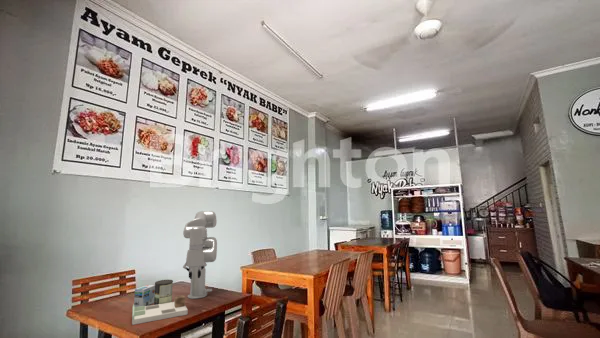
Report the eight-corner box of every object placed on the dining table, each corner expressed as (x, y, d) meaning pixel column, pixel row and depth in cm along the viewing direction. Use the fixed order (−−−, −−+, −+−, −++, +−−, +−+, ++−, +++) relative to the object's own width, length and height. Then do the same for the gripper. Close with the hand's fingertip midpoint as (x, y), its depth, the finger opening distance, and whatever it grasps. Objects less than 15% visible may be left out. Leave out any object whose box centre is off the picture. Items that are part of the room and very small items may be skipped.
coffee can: (150, 307, 171) (151, 283, 173) (159, 302, 181) (160, 279, 183) (166, 307, 171) (168, 283, 173) (174, 302, 181) (175, 279, 183)
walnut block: (183, 303, 170) (183, 295, 171) (184, 306, 166) (185, 297, 166) (174, 305, 167) (174, 296, 168) (175, 307, 163) (175, 298, 164)
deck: (182, 304, 176) (182, 297, 177) (187, 314, 159) (187, 306, 160) (132, 313, 163) (132, 304, 163) (132, 324, 146) (132, 315, 146)
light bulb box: (142, 308, 171) (143, 289, 173) (133, 307, 172) (134, 289, 174) (154, 302, 181) (155, 284, 183) (145, 301, 183) (146, 284, 184)
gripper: (208, 245, 183) (207, 275, 180) (180, 247, 174) (179, 278, 172) (210, 247, 176) (210, 277, 174) (182, 249, 168) (180, 281, 165)
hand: (194, 277), depth 173 cm, fingers open, 4 cm apart
